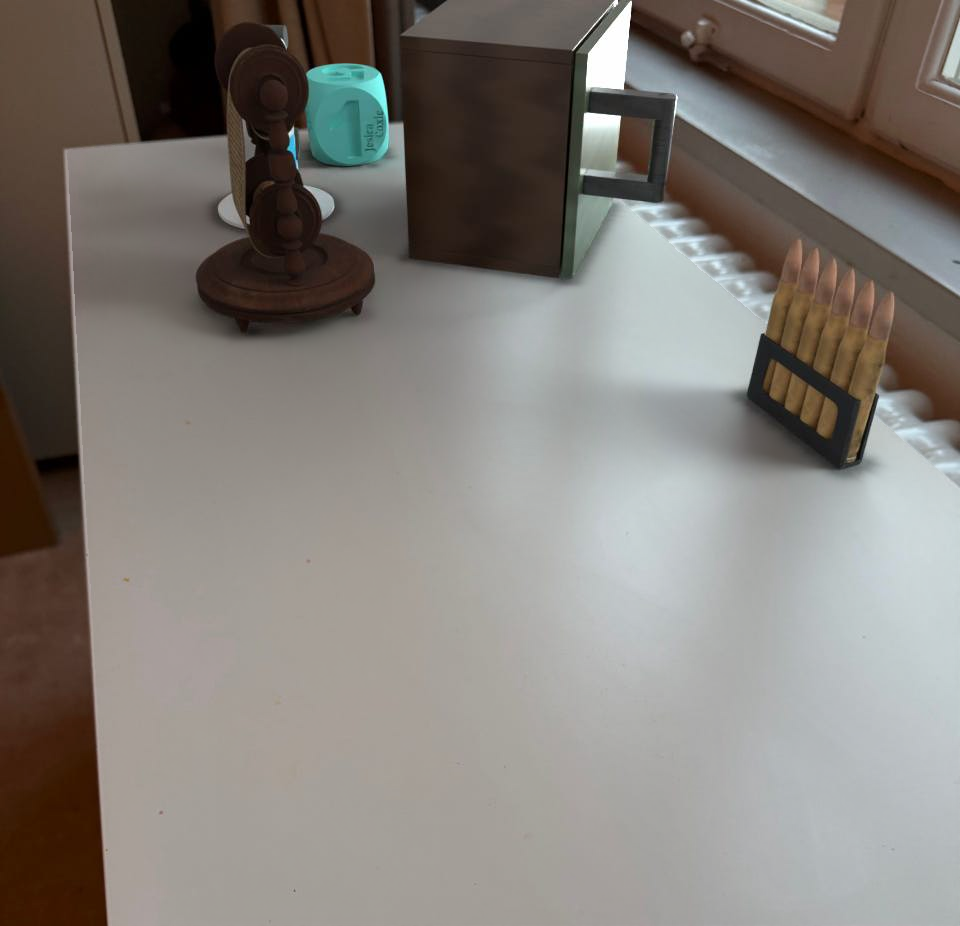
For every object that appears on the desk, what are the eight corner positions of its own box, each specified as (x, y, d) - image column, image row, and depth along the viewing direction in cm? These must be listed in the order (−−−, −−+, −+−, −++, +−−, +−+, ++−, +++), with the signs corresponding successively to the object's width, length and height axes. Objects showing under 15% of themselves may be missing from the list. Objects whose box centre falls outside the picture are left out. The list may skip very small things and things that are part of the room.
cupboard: (600, 204, 103) (617, -3, 91) (558, 278, 91) (572, 50, 78) (466, 188, 106) (466, -15, 94) (408, 258, 94) (399, 35, 81)
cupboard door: (680, 212, 102) (708, 6, 90) (649, 289, 89) (677, 61, 77) (602, 203, 103) (620, -1, 91) (561, 277, 91) (575, 52, 79)
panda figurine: (324, 235, 97) (306, 58, 87) (205, 232, 98) (173, 56, 87) (341, 188, 106) (328, 22, 96) (232, 185, 106) (206, 20, 96)
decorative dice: (316, 169, 110) (308, 87, 104) (308, 144, 116) (300, 65, 110) (390, 163, 111) (386, 82, 106) (379, 139, 117) (374, 61, 111)
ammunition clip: (745, 395, 77) (778, 235, 68) (765, 390, 77) (800, 230, 69) (840, 469, 70) (890, 300, 61) (862, 463, 70) (914, 295, 62)
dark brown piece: (189, 275, 91) (139, 16, 77) (352, 253, 94) (332, 2, 81) (215, 352, 81) (163, 70, 67) (397, 324, 84) (382, 51, 71)
